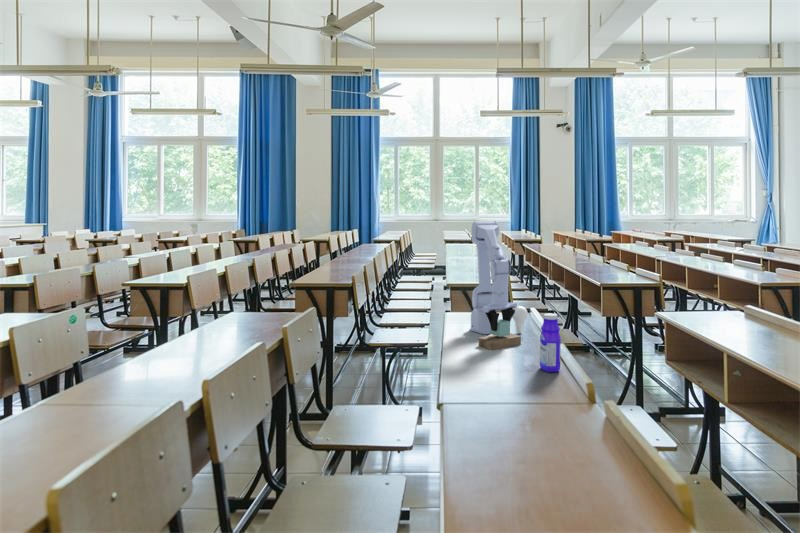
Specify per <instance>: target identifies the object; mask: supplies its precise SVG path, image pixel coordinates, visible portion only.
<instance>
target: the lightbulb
mask: <svg viewBox="0 0 800 533" xmlns="http://www.w3.org/2000/svg"><path fill="white" fill-rule="evenodd" d="M513 309H514V310H515V313H514V315H513V316H512V319H513V321H514V325H515V326H514V327H515V332H516V333H517V334H522V333H523V330H524V324H525V322H526V319H527V318H528V313H529V312H528V310H527V309H526V307H525V306H522V305H517V308H513Z"/></svg>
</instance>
